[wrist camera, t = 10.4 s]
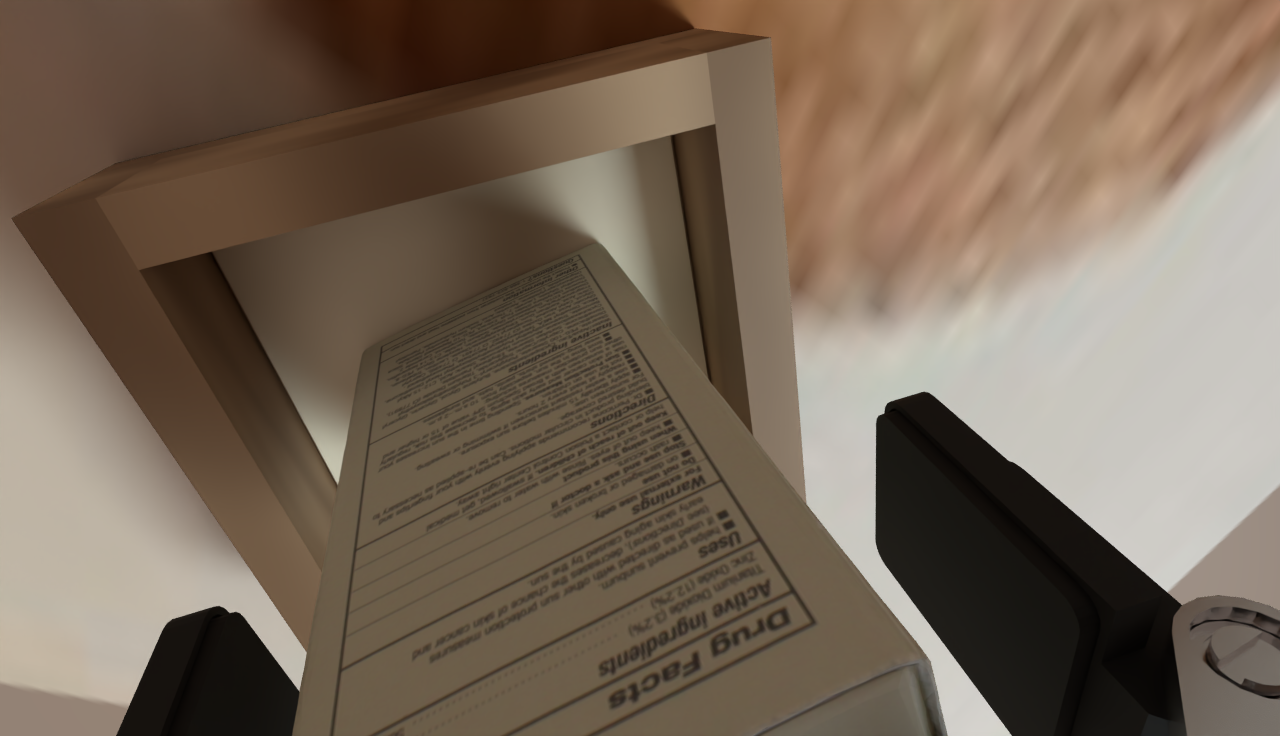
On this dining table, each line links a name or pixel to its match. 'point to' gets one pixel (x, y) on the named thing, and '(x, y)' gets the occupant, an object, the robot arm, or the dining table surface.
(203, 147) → the brown wooden square tray
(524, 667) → the skincare box
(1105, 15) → the dining table surface
